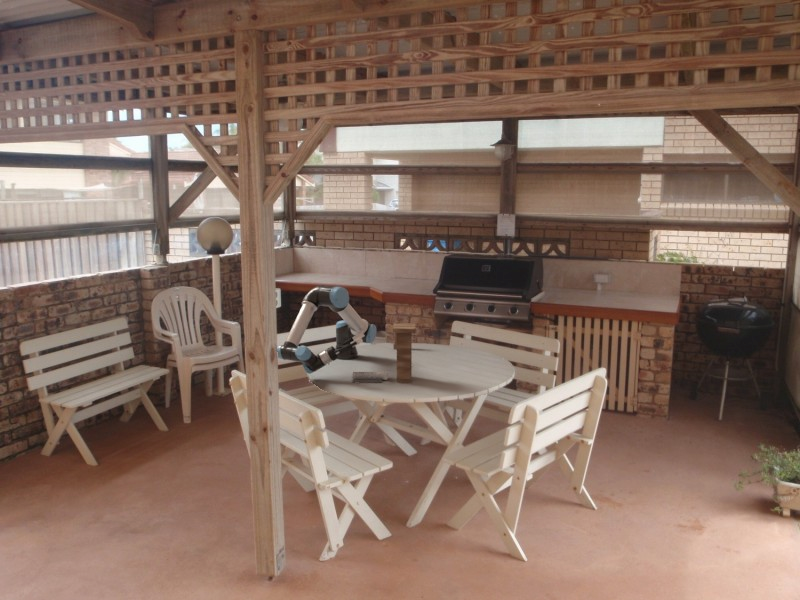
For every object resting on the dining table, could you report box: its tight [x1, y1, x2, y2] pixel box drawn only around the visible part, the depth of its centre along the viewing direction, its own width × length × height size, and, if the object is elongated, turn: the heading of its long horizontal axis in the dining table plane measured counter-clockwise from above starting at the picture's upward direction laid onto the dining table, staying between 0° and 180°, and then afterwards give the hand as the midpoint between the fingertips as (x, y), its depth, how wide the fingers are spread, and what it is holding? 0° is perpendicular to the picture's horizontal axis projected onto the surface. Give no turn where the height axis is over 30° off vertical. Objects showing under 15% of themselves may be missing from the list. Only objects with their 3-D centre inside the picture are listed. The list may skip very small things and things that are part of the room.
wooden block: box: [393, 320, 401, 350], centre depth 453 cm, size 4×11×18 cm, turn 81°
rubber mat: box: [352, 378, 383, 384], centre depth 381 cm, size 14×16×1 cm
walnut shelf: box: [392, 322, 416, 383], centre depth 379 cm, size 16×12×30 cm
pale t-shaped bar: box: [352, 371, 389, 381], centre depth 381 cm, size 6×19×3 cm, turn 89°
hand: (362, 336), depth 377 cm, fingers open, 13 cm apart
